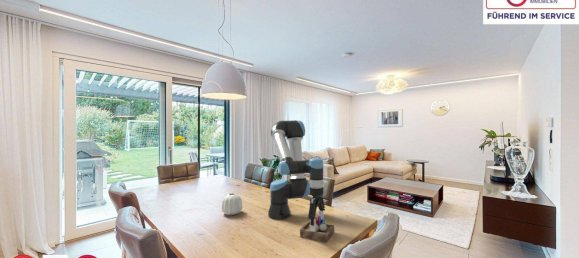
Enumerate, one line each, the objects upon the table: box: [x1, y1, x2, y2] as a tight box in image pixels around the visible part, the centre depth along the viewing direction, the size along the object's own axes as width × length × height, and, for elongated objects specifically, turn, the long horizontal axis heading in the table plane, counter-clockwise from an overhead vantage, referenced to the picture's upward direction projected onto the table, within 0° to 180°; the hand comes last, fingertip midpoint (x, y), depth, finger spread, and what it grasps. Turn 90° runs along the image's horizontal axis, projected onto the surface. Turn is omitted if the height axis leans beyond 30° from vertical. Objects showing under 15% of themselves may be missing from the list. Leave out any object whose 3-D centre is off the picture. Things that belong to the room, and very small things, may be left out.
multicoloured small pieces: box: [309, 215, 328, 232], centre depth 128 cm, size 8×10×7 cm
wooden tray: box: [299, 220, 335, 243], centre depth 128 cm, size 15×13×4 cm
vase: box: [221, 192, 243, 216], centre depth 163 cm, size 14×14×13 cm
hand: (317, 226), depth 128 cm, fingers open, 12 cm apart
